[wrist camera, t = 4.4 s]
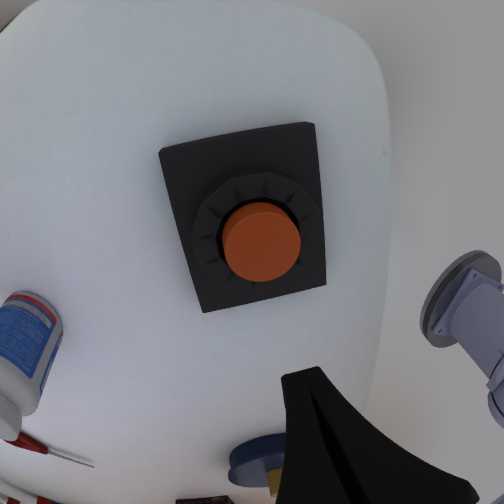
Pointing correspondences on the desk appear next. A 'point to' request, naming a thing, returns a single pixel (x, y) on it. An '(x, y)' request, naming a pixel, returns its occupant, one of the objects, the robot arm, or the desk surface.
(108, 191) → the desk surface
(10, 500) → the extruded letter emblem
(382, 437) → the robot arm
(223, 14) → the desk surface
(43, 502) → the book
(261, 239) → the button
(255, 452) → the tin
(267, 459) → the tin lid
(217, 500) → the box
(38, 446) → the scissors
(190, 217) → the control block
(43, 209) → the desk surface
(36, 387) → the pill bottle
